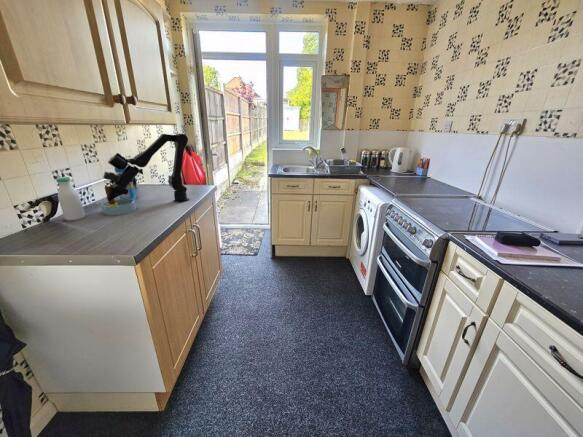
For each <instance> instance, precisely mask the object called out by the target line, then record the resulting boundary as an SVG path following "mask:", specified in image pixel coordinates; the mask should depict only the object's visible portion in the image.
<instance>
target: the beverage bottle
mask: <svg viewBox="0 0 583 437" xmlns="http://www.w3.org/2000/svg"><path fill="white" fill-rule="evenodd" d="M127 166H128V165H127ZM127 166H126V167H127ZM113 167H114V166H113ZM125 169H126V168H125ZM125 169H123V170H122V169H120V170H118V169H117V168H115V167H114V173H115V174H116V175H118V174H119V173H122V172H123V171H124V170H125ZM127 187H128V188H127V189H128V194H127V195H125V194H122V195H120V196H119V199H133V200H136V198H137V195H136V191H135V187H134V181H133V182H132V183H131V182H130V184H129V185H128V186H127Z"/></svg>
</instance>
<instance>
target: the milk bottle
mask: <svg viewBox="0 0 583 437" xmlns="http://www.w3.org/2000/svg"><path fill="white" fill-rule="evenodd" d="M56 182H57V184H58V190H57V199H58V202H59V205H60V209H61V211H62V214H63V218H64V220H65V221H76V220H80V219H84V218H85V217H86V212H85V209H84V206H83V203H82V200H81V196H80V194H79V192H78V190H76V188H74V186H73V185H72V182H71V178H70V177H67V176H64V177H63V176H62V177H57V178H56Z"/></svg>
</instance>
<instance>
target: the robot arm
mask: <svg viewBox="0 0 583 437" xmlns="http://www.w3.org/2000/svg"><path fill="white" fill-rule="evenodd" d="M168 142H170V143H171V142H173V144H174V149H175V151H174V159H173V167H172V172H171V175H168V176H167V178H168V181H167V183H168V186H169V187H170V188H172V189H173V193H174V194H173V197H174V199H173V202H177V203H184V202H187V201H189V200H190V198H188V194H187V190H188V188H187V187H186V186H185V185H183V178H182V167H183V162H184V160H183V159H184V153H185V149H186V148H187V145H188V142H189V138H188V136H187V135H186V134H185V133H176V134H167V133H161V134H160V135H159V137H157V139H155V141H154V142H152V143H151V144H150V145H149V146H148V147H147V148H146V149H145V150H143V151H141V152H139V153H138V154H136V155H135V156H133V157H132V158H125V157H124V156H122V155H121V154H120V153H119V152H116V153H115V154H114V155H113V156H111V157H110V158H109V159H108V161H107V163H108V164H109V165H110V166H112V167H115V168H117V169H118V170H120V169H122V170H123V169H125V168H126V169H125V170H124V171H123V172H122V173H119V174H118V175H116V174H117V173H115V172H112V171H110V172H109V171H104V173H103V179H104V180H109V181H108V182H109V186H111V188H112V192H111V193H110V195H109V197H108V199H107V198H106V200H107V201H108V200H109V201H110V200H112V199H114V200H115V199H116V198H118V197H120V195H122V194H125V195H127V194H128V189H127V188H128V187H127V186H128V185H129V184H130V182H131V183H132V182H133V183H134V181H133V180H134V179H135V178H136V177H137V175H139V174H141V175H144V171H143V169H142V168H145V167H147V166H148V164H149V162H150V161H151V159H152V157H153V156H154V155H155V154H156V153H157V152H158V151H159V150H160V149H161V148H162V147H163V146H164V145H165V144H166V143H168ZM126 166H127V167H126Z"/></svg>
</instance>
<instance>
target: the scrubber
mask: <svg viewBox="0 0 583 437" xmlns="http://www.w3.org/2000/svg"><path fill="white" fill-rule="evenodd" d="M104 190H105V194H106V200H107V199H108V197H109V195H110V193H111V192H112V188H111V186H110V185H107V186H104ZM115 200H116V199H115V198H114V199H112V200H110V201H109V200H107V201H108V203H109V204H107V206H118V204H117V203H115Z"/></svg>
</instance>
